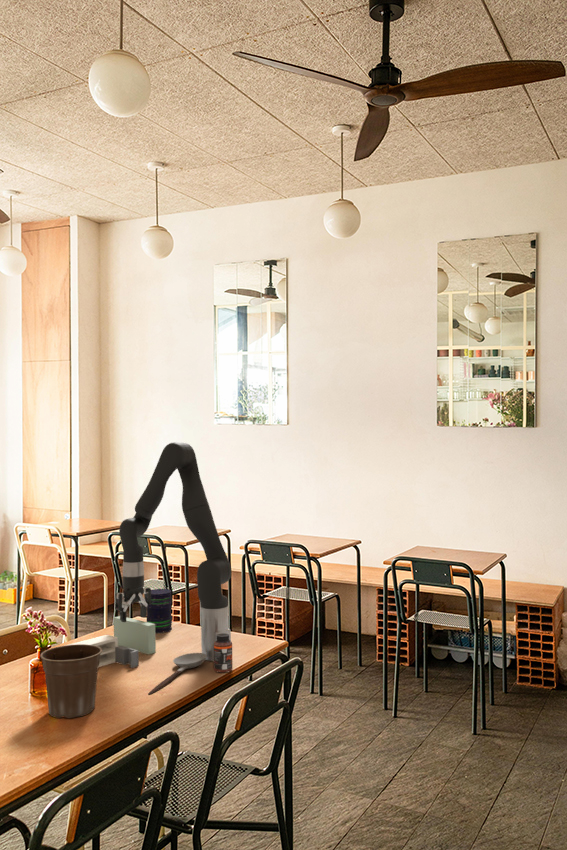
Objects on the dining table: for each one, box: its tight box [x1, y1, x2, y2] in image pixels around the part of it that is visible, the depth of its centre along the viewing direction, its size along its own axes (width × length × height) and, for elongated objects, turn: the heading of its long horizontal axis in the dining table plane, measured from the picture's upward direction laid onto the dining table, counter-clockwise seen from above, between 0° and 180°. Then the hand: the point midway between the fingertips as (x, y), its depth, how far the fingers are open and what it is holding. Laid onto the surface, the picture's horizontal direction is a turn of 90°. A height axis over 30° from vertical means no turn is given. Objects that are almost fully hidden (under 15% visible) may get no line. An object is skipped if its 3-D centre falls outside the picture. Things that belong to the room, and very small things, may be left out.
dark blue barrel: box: [145, 588, 173, 634], centre depth 285 cm, size 10×10×15 cm
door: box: [113, 615, 157, 656], centre depth 260 cm, size 4×20×10 cm, turn 49°
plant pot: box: [39, 644, 102, 719], centre depth 201 cm, size 16×16×16 cm
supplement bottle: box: [213, 633, 233, 674], centre depth 233 cm, size 6×6×11 cm
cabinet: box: [64, 634, 140, 669], centre depth 236 cm, size 16×23×8 cm
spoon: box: [148, 652, 207, 695], centre depth 227 cm, size 11×33×3 cm, turn 161°
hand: (133, 619), depth 260 cm, fingers open, 8 cm apart
